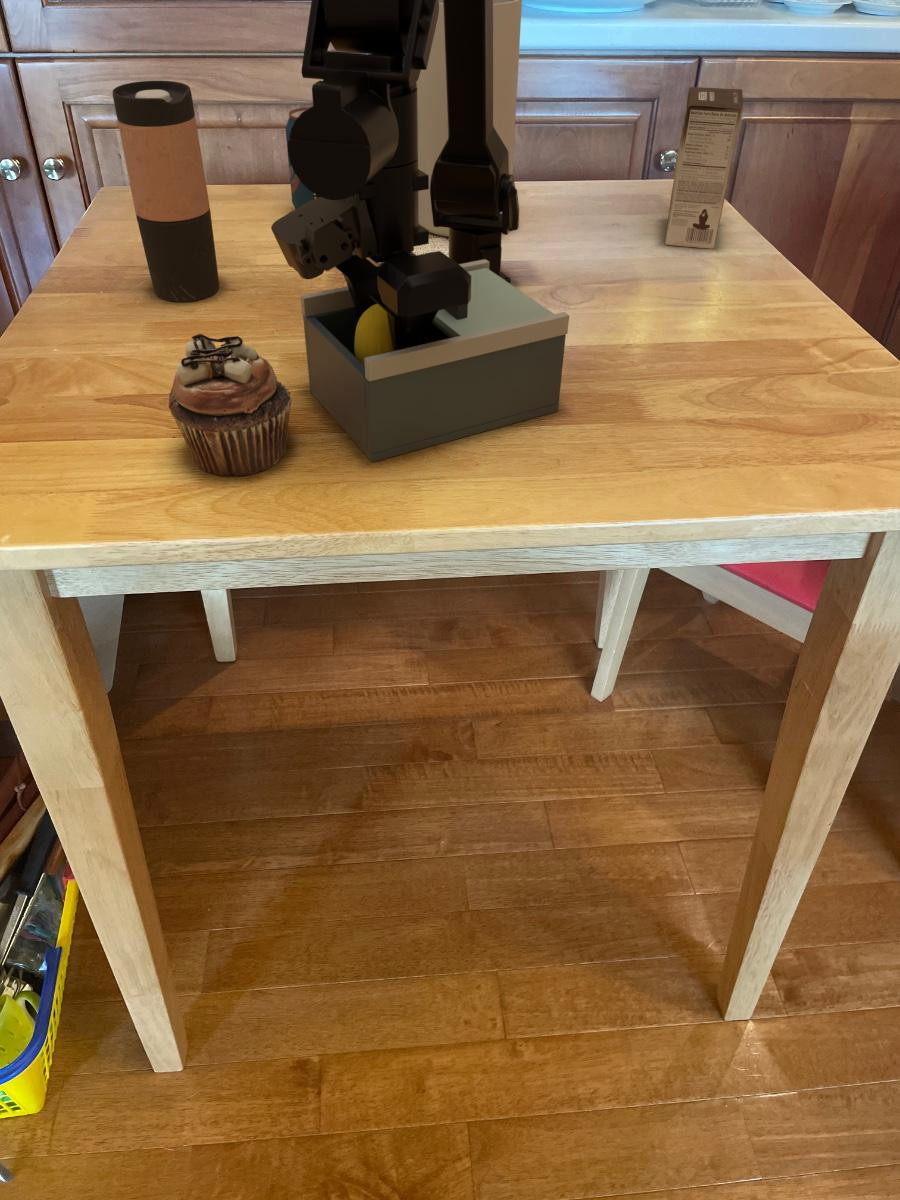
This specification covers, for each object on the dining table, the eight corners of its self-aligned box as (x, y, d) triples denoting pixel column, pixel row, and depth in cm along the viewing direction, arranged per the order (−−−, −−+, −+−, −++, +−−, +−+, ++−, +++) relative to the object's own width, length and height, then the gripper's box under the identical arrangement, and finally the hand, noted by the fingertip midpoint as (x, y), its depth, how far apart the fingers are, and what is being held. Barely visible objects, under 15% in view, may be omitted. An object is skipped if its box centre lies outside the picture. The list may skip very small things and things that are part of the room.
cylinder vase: (511, 240, 116) (524, 6, 99) (411, 239, 116) (408, 4, 99) (508, 207, 125) (519, -12, 109) (416, 205, 125) (413, -14, 109)
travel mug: (157, 276, 106) (118, 80, 93) (225, 275, 106) (196, 79, 93) (146, 304, 100) (103, 99, 87) (218, 302, 101) (186, 98, 87)
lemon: (428, 378, 83) (427, 292, 78) (406, 408, 79) (404, 319, 74) (371, 368, 84) (366, 283, 79) (347, 397, 80) (340, 309, 75)
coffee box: (665, 221, 122) (688, 84, 112) (715, 225, 121) (742, 88, 111) (663, 245, 115) (687, 103, 105) (716, 250, 114) (745, 107, 104)
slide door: (398, 291, 83) (396, 244, 80) (486, 273, 86) (488, 228, 84) (461, 343, 75) (462, 293, 73) (555, 321, 79) (559, 272, 76)
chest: (309, 391, 86) (300, 295, 80) (481, 350, 93) (485, 258, 87) (373, 463, 77) (368, 361, 71) (559, 412, 84) (569, 315, 78)
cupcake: (301, 476, 75) (289, 362, 69) (179, 488, 74) (154, 374, 67) (291, 417, 82) (279, 309, 76) (180, 427, 81) (158, 318, 74)
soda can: (290, 205, 125) (281, 106, 117) (341, 201, 126) (335, 104, 118) (296, 222, 120) (287, 121, 112) (349, 218, 121) (343, 118, 113)
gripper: (235, 138, 72) (259, 327, 82) (329, 212, 60) (344, 423, 70) (365, 122, 76) (372, 304, 87) (478, 187, 64) (471, 390, 74)
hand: (386, 351), depth 79 cm, fingers open, 6 cm apart
